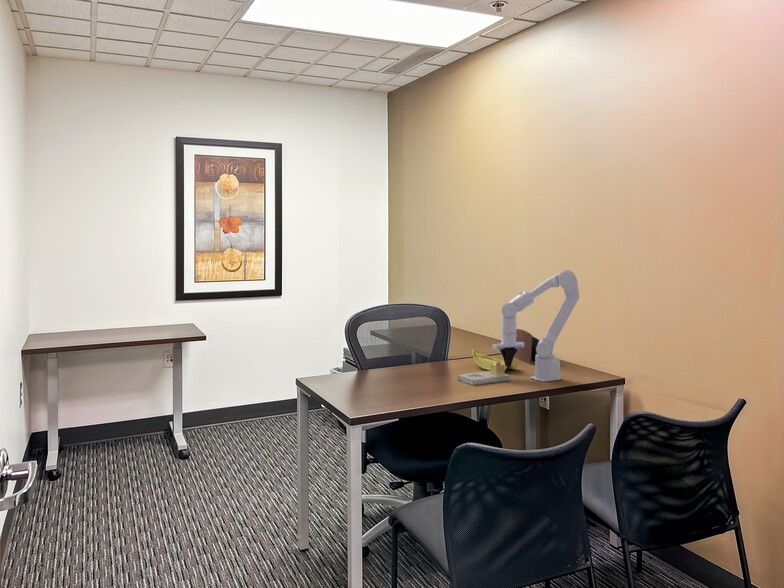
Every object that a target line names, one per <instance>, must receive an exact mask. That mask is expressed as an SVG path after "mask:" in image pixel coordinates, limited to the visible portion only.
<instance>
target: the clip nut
mask: <svg viewBox="0 0 784 588" xmlns="http://www.w3.org/2000/svg"><path fill="white" fill-rule="evenodd" d="M504 369H505V365H504V364H500V362H495V363H494V364H490V370H489V371H490V373H492V374H496V375H498V374H504V373H505V371H504Z"/></svg>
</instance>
